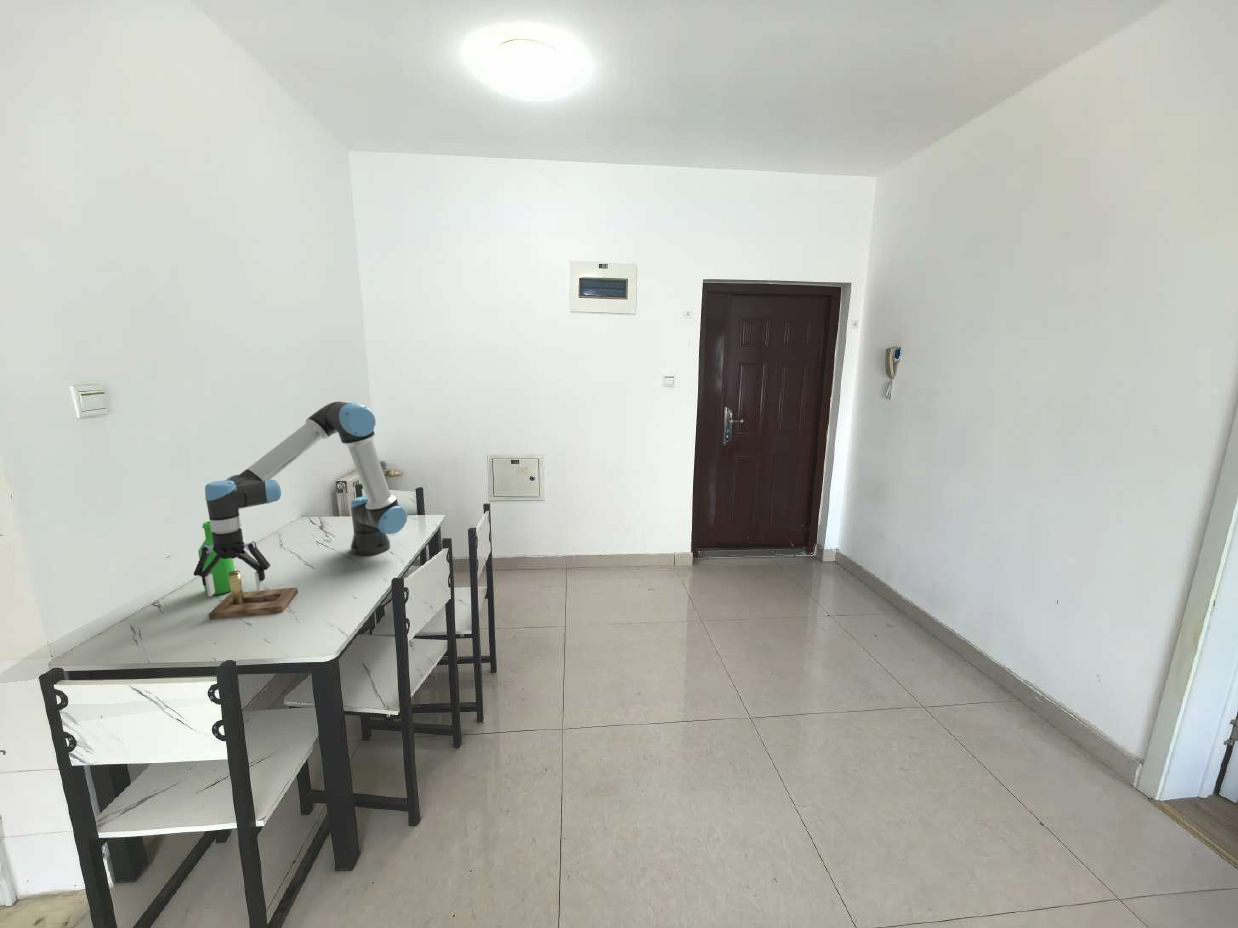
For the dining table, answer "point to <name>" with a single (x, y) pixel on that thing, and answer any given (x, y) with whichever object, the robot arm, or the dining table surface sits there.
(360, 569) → the dining table surface
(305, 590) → the dining table surface
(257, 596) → the keyhole board
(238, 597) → the peg
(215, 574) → the bottle
